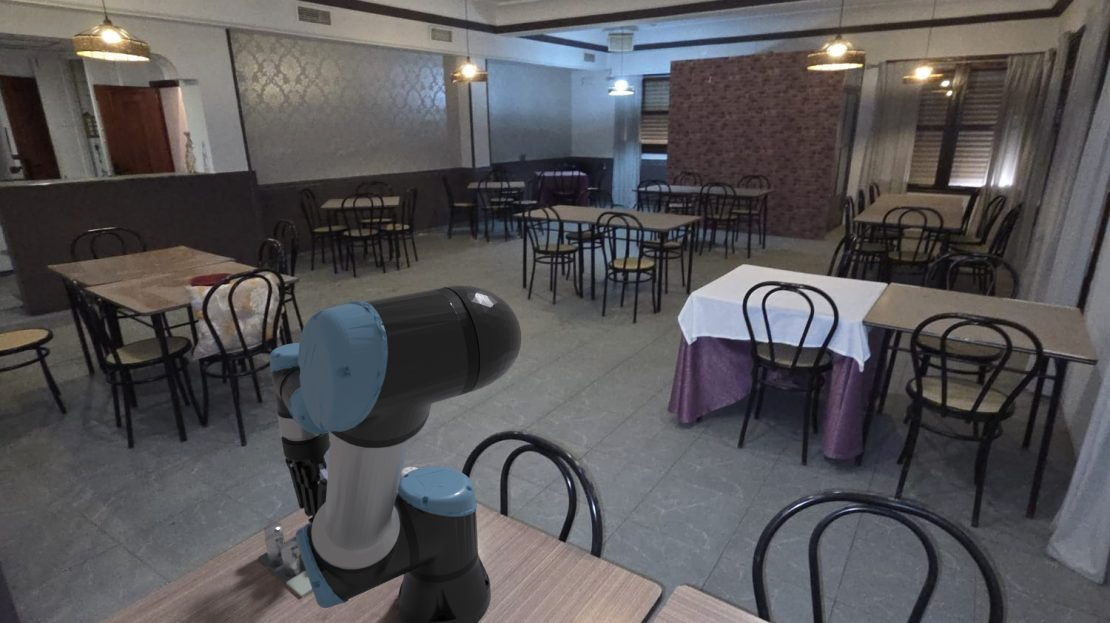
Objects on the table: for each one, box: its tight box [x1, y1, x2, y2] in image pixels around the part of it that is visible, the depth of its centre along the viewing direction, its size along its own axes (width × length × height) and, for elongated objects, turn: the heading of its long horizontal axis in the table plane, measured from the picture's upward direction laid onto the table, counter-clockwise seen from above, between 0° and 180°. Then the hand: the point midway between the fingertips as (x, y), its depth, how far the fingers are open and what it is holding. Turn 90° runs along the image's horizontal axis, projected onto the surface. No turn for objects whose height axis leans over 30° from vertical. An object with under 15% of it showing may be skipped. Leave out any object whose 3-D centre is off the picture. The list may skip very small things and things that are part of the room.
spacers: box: [263, 522, 303, 577], centre depth 109 cm, size 10×15×5 cm
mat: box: [258, 536, 313, 598], centre depth 109 cm, size 15×16×1 cm
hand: (321, 545), depth 108 cm, fingers closed
